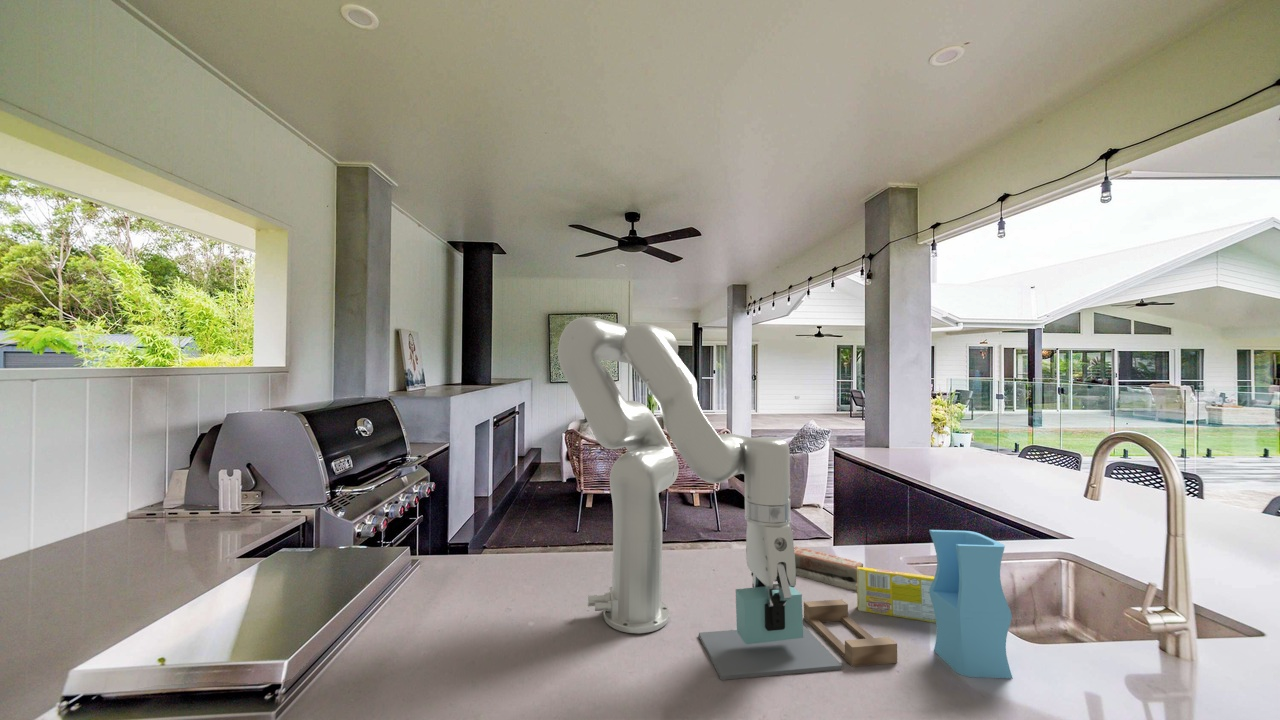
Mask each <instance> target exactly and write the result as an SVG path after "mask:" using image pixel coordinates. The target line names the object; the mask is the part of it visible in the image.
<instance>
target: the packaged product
mask: <svg viewBox="0 0 1280 720" xmlns="http://www.w3.org/2000/svg"><path fill="white" fill-rule="evenodd" d="M798 548H802V547H801V546H800V547H799V546H794V549H795V550H794V553H795V567H796V576H800V577H803V578H806V579H811V580H814V581H817V582H821V583H824V584H829V585H832V586H836V587H839V588H841V589H842V588H843V589H846V590H851V591H855V592H857V567H864V563H862V562H860V561H857V560H856V561H855V560H852V559H847V558H844V557H840V556H836V555H833V554H829V553H825V552H821V551H817V550H814V549H809V548H805V549H798Z"/></svg>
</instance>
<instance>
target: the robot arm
mask: <svg viewBox="0 0 1280 720" xmlns="http://www.w3.org/2000/svg"><path fill="white" fill-rule="evenodd" d="M557 345H558V346H557V356H558V357H557V358H558V363H559V366H560V369H561V370H560V371H562V374H563V376H564V378H565V380H566V381H567V383H568V385H569V387H570V389H571V390H572V392H573V394H574V396H575V398H576V401H577V402H578V405H579V407H580V410H581V411H582V413H583V414H584V417H585V419H586V421H587V423H588V425H589V427H590V429H591V431H592V433H593V435H594V437H595V439H596V441H597V443H598V444H599V445H600V446H601V447H603V448H605V449H608V450H618V449H624V448H625V449H626V450H627V452H625V453H623V454H622V455H621V456H619V457H618V458H617V459H616V460H615V462H614V463H613V464H612V467H611V469H610V471H609V472H610V473H609V489H610V495H611V496H610V497H611V501H612V502H611V503H612V515H613V516H612V522H613V523H612V524H613V525H612V536H613V537H612V582H611V583H612V585H611V586H609V589H608V590H609V591H607V592H604V594H588V595H587V606H588V607H594V611H595V612H600V611H603V620H604V622H605V623H606V624H607V625H608V626H609V627H611V629H612V628H613V629H614V630H616V631H619V632H623V633H628V634H646V633H647V634H648V633H652V632H655V631H658V630H660V629H662V628H664V626H666V625H667V624H668V623H669V620H670V609H669V607H668V606H667V605H666V603H665V602H664V601H663V600H662V592H663V591H662V589H663V588H662V587H663V583H662V581H663V577H662V576H663V514H662V509H661V505H660V497H659V495H660V494H659V493H662V492H663V491H665V490H666V489H668V488H670V487H671V486H672V485H673V484H674V483H675V482H676V480H677V478H678V476H679V470H680V468H679V467H680V465H679V461H678V457H677V455H676V453H675V450H674V449H673V447H672V445H671V443H670V442H669V439H668V438H667V436H666V434H665V432H664V431H663V429H662V427H661V425H660V423H659V420H658V419H657V418H656V415H655V414H654V413H653V412H652V411H651V409H650V408H649V407H648V406H647V405H646V404H643V403H642V402H639V401H637V400H626V399H625V398H624V397H623V395H622V393H621V392H620V390H619V388H618V386H617V384H616V382H615V380H614V378H613V376H612V375H611V374H610V373H609V372H608V370H607V369H606V368H605V367H604V366H603V365H602V363H601V360H602V361H613V362H619V363H626V364H630V366H631V367H632V369H633V370H634V372H635V373H636V374H637V375H638V377H639V378H640V380H641V381H642V383H644V385H645V387H646V388H647V389H648V391H649V393H650V394H651V395H652V398H654V400H655V402H656V403H657V405H658V406H659V408H660V414H661V417H662V420H663V423H664V425H665V430H666V431H667V434H668V435H669V438H670V441H671V442H672V444H673V445H674V447H675V448H676V450H677V451H678V453H679V455H680V456H681V457H682V459H683V460H684V461H685V463H686V464H687V466H688V467H689V469H690V470H691V472H693V473H694V474H695V475H696V476H697V477H698V478H699V479H701V480H702V481H704V482H706V483H709V484H722V483H723V482H726V481H727V480H729V479H731V478H732V477H734V476H738V475H740V474H741V475H744V519H745V521H746V522H747V523H746V535H745V537H746V538H745V539H746V540H745V559H746V565H747V567H748V569H749V571H750V572H751V575H750V576H751V577H752V583H751V584H752V585H751V588H754V587H765V586H766V594H767V604H765V628H766V629H767V631H774V630H784V629H785V606H786V601H787V600H789V599H791V592H790V588H789V586H790V587H794V588H795V587H796V585H797V575H796V567H795V553H794V548H795V545H794V539H793V538H794V537H793V536H794V535H793V531H792V527H791V523H792V519H791V458H790V457H791V456H790V455H791V453H790V446H789V443H788V442H787V441H786V440H785V439H782V438H778V437H769V436H767V437H764V436H760V437H759V436H758V437H750V436H744V435H739V434H733V433H720V434H718V432H717V431H716V429H714V427H713V426H712V424H711V423H710V422H709V420H708V418H707V416H706V415H705V414H704V412H703V410H702V407H701V406H700V403H699V400H698V381H697V379H696V377H695V375H694V374H693V373H692V372H691V371H690V369H689V368H688V366H687V365H686V364H685V363H684V362H683V360H682V359H681V357H680V356H679V355H678V354H679V344H678V341H677V339H676V337H675V335H674V334H673V333H672V332H671V331H670V330H668V329H666V328H663V327H661V326H656V325H654V324H650V323H640V324H636V325H631V324H630V325H629V324H623V323H618V322H614V321H610V320H605V319H602V318H599V317H591V316H584V317H583V316H582V317H578V318H575V319H573V320H571V321H570V322H568V323H567V324H566V326H565V327H564V329H563V330H562V331H561V334H560V338H559V342H558V344H557ZM774 582H777V583H774ZM772 590H779V592H778V593H775V594H774V595H772Z"/></svg>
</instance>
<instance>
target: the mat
mask: <svg viewBox="0 0 1280 720" xmlns="http://www.w3.org/2000/svg"><path fill="white" fill-rule="evenodd" d="M698 637H699V640H700V641H701V643H702V645H703V647H704V649H705V651H706V653H707V655H708V657H709V658H710V659H709V660H711V663H712V664H713V667H714V669H715V670H716V672H717V674H718V677H719V679H720V680H721V681H724V680H726V681H727V680H736V679H737V680H738V679H748V678H758V677H770V676H779V675H783V676H784V675H792V674H802V673H803V674H804V673H815V672H825V671H835V670H837V671H838V670H843V664H841V662H840V661H839V660H838V659H837V658H836V657H835V656H834V655H833V654H832V653H831V652H830V650H828V649H827V648H826V647H825V646H824V645H823V643H822V642H820V640H819V639H817V637H816V636H815V635H814V634H813V633H812V632H811V631H810V630H809V629H808V628H807V627H806V626H805V625H804V624H803V638H797V639H789V640H780V641H772V642H763V643H755V644H745V642H744V641H743V640H742V638H741V637H740V635H739V634H738V632H737V629H732V630H718V631H704V632H698Z"/></svg>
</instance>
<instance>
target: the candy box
mask: <svg viewBox="0 0 1280 720" xmlns="http://www.w3.org/2000/svg"><path fill="white" fill-rule="evenodd" d="M934 577H935V575H934V576H933V575H925V574H917V573H911V572H910V573H909V572H902V571H895V570H887V569H879V568H871V567H864V566H863V567H857V591H856V593H857V599H856V601H857V603H856V605H857V610H858V611H859V612H863V613H864V612H866V613H870V614H871V613H872V614H878V615H885V616H890V617H895V618H903V619H910V620H913V621H915V620H916V621H921V622H927V623H928V622H929V623H934V624H936V617H935V612H934V608H933V604H932V601H931V598H930V594H929V589H930V587H931V584H932V582H933V580H934Z"/></svg>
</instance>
